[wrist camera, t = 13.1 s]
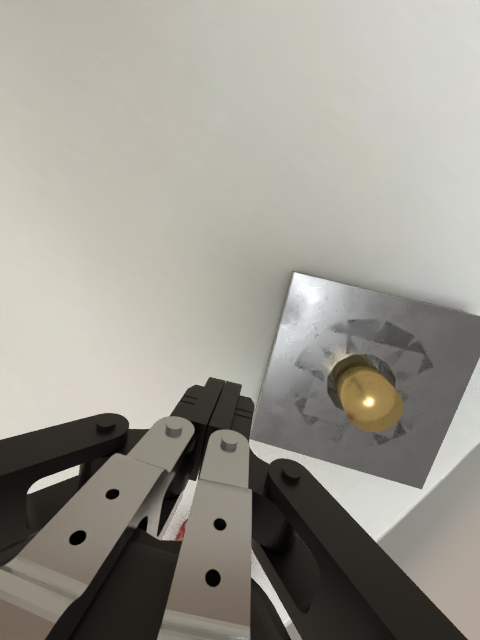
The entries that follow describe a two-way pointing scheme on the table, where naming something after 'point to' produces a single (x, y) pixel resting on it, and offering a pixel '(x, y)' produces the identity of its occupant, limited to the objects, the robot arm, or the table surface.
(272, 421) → the jig
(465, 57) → the table surface
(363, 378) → the brass peg
